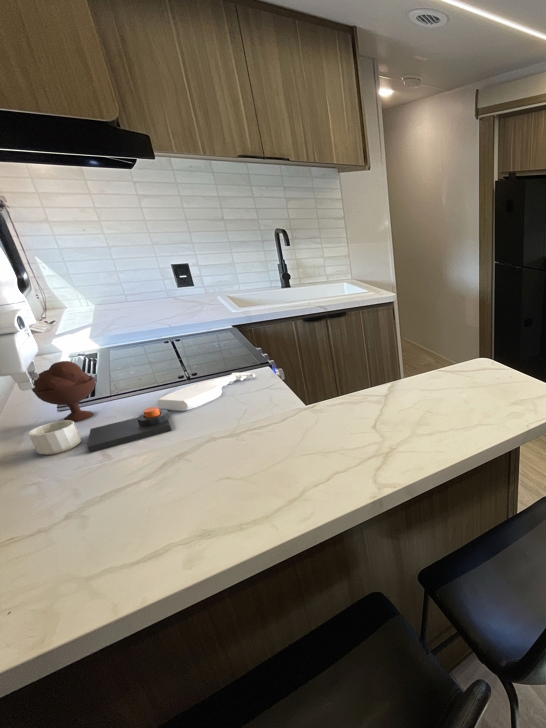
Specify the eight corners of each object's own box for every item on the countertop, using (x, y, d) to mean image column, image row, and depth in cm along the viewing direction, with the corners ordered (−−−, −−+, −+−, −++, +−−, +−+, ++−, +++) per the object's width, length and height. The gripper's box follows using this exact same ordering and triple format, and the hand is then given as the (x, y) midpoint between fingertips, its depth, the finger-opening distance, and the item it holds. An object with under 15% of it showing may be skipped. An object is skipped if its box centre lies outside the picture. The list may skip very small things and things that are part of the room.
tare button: (145, 419, 94) (143, 413, 94) (145, 415, 96) (142, 409, 96) (160, 416, 96) (158, 409, 96) (160, 412, 98) (157, 405, 97)
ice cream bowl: (100, 405, 109) (79, 352, 104) (112, 415, 103) (90, 360, 98) (44, 420, 101) (18, 364, 96) (53, 432, 95) (26, 373, 90)
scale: (90, 452, 86) (85, 440, 85) (92, 434, 94) (87, 422, 93) (173, 429, 95) (169, 418, 94) (169, 414, 103) (165, 404, 102)
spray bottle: (155, 409, 106) (231, 377, 128) (189, 412, 104) (260, 379, 126) (151, 399, 105) (228, 368, 127) (186, 402, 103) (258, 370, 125)
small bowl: (36, 459, 84) (25, 438, 82) (40, 447, 89) (30, 427, 87) (81, 447, 88) (72, 427, 86) (83, 436, 93) (74, 417, 91)
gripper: (-14, 313, 83) (16, 375, 88) (-40, 331, 69) (-3, 403, 74) (31, 308, 87) (57, 368, 92) (14, 324, 73) (46, 394, 78)
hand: (30, 384), depth 83 cm, fingers open, 5 cm apart
